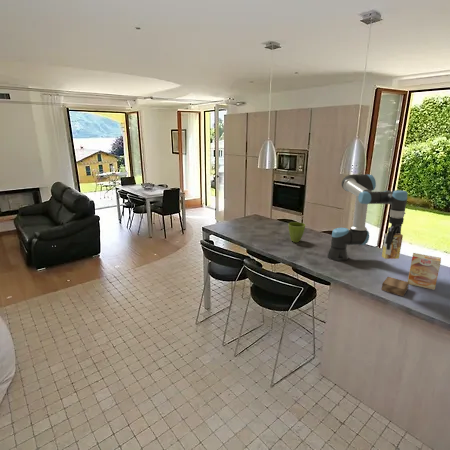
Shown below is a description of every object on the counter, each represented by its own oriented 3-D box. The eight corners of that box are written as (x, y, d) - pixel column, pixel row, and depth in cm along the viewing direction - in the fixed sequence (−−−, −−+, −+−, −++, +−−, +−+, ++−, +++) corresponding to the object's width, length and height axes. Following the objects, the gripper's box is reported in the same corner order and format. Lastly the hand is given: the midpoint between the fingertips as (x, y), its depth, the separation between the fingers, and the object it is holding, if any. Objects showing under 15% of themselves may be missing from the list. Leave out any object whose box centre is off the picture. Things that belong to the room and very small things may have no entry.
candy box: (395, 256, 189) (399, 232, 185) (399, 258, 185) (403, 234, 180) (381, 256, 188) (384, 233, 184) (385, 259, 184) (388, 235, 180)
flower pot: (302, 238, 282) (304, 222, 278) (305, 244, 268) (306, 226, 263) (286, 238, 284) (287, 221, 279) (288, 243, 269) (289, 226, 265)
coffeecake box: (407, 284, 196) (412, 255, 190) (407, 279, 201) (412, 252, 196) (434, 290, 188) (441, 261, 182) (434, 285, 193) (441, 257, 188)
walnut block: (381, 290, 188) (382, 283, 187) (386, 283, 197) (387, 276, 196) (403, 296, 181) (404, 289, 179) (407, 289, 189) (409, 282, 188)
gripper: (396, 221, 170) (390, 258, 176) (410, 215, 184) (404, 250, 190) (382, 218, 175) (377, 255, 181) (397, 212, 189) (392, 246, 195)
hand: (391, 252), depth 186 cm, fingers closed on candy box, 9 cm apart
